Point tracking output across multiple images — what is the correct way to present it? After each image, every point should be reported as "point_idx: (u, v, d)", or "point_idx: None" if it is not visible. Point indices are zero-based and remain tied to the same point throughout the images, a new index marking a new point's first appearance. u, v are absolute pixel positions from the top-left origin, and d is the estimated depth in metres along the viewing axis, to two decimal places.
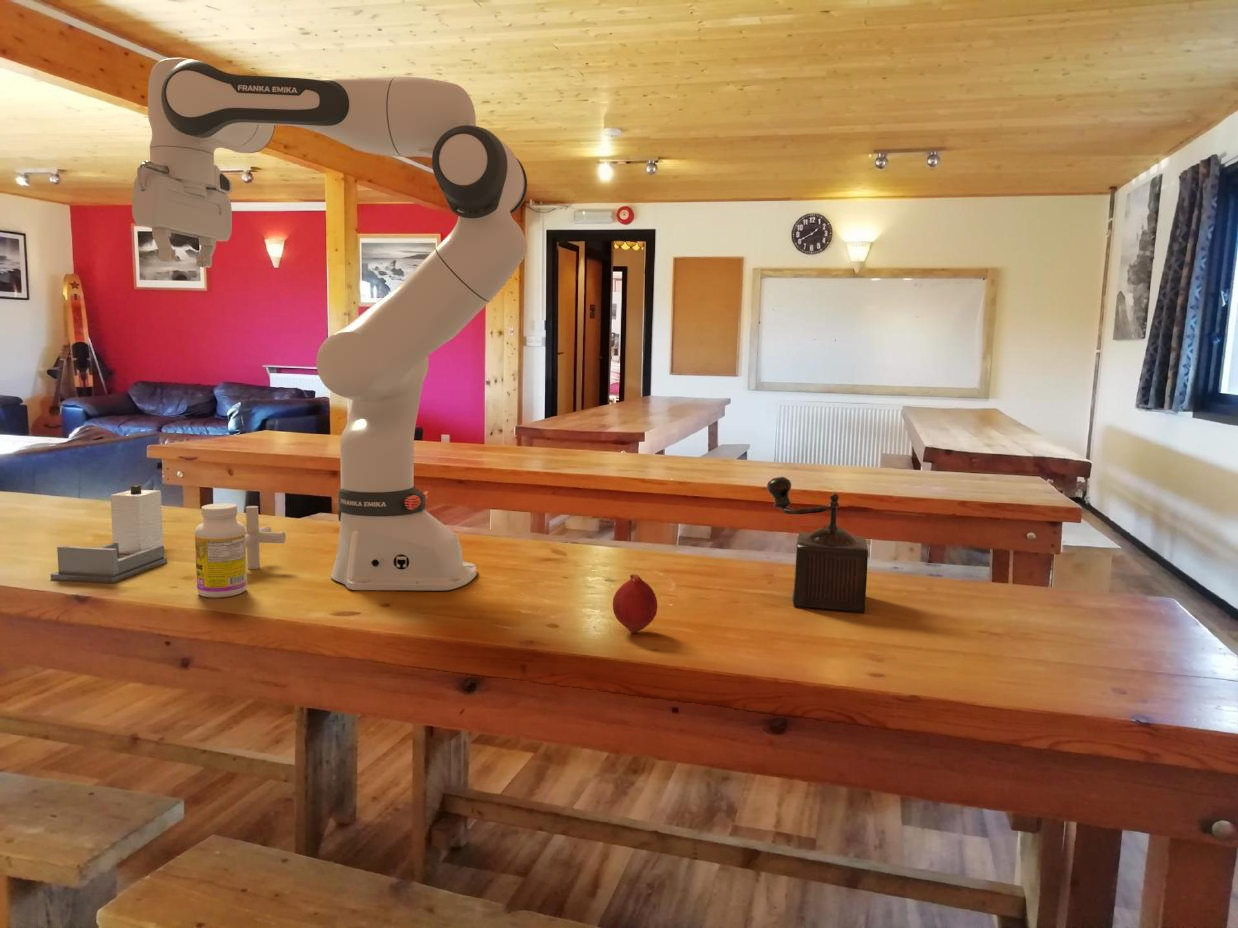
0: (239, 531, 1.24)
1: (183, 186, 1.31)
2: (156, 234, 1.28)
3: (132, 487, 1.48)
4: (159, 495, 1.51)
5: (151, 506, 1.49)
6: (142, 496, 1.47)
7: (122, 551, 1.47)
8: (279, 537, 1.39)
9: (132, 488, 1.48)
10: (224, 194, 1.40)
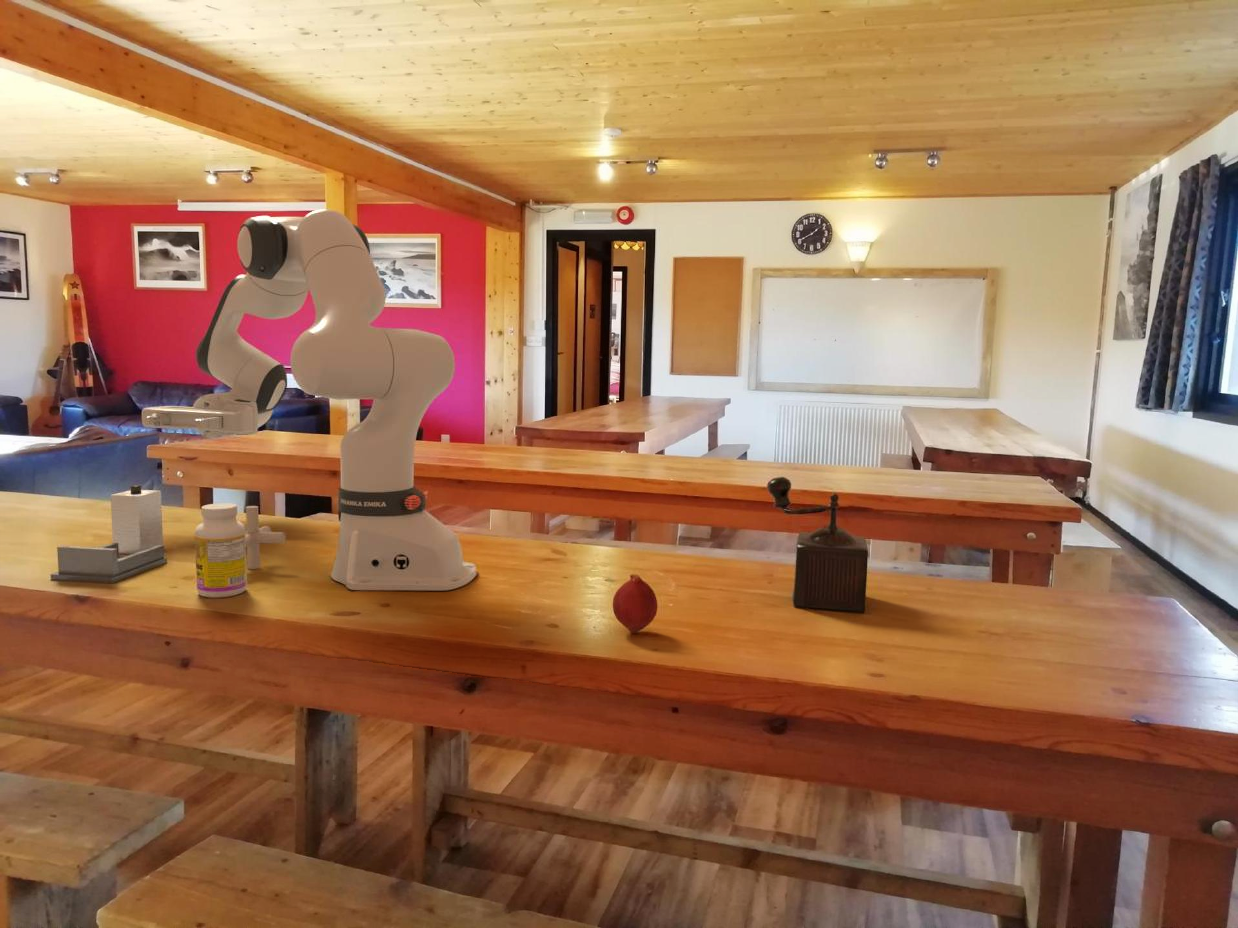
0: (239, 531, 1.24)
1: (195, 407, 1.70)
2: None
3: (132, 487, 1.48)
4: (159, 495, 1.51)
5: (151, 506, 1.49)
6: (142, 496, 1.47)
7: (122, 551, 1.47)
8: (279, 537, 1.39)
9: (132, 488, 1.48)
10: (243, 405, 1.69)
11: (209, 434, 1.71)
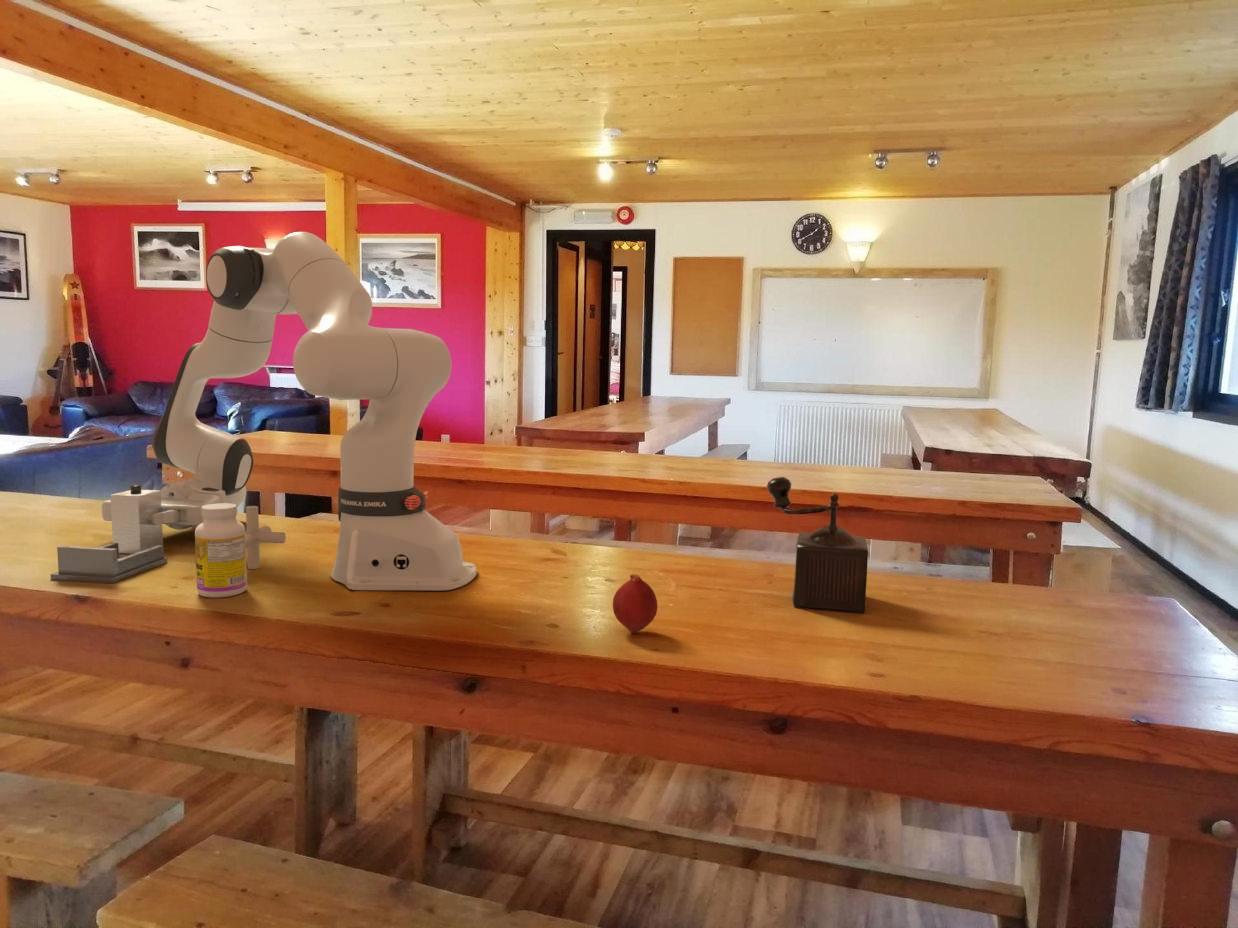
0: (239, 531, 1.24)
1: None
2: None
3: (132, 487, 1.48)
4: (159, 495, 1.51)
5: (151, 506, 1.49)
6: (142, 496, 1.47)
7: (122, 551, 1.47)
8: (279, 537, 1.39)
9: (132, 488, 1.48)
10: (210, 494, 1.59)
11: (175, 525, 1.61)
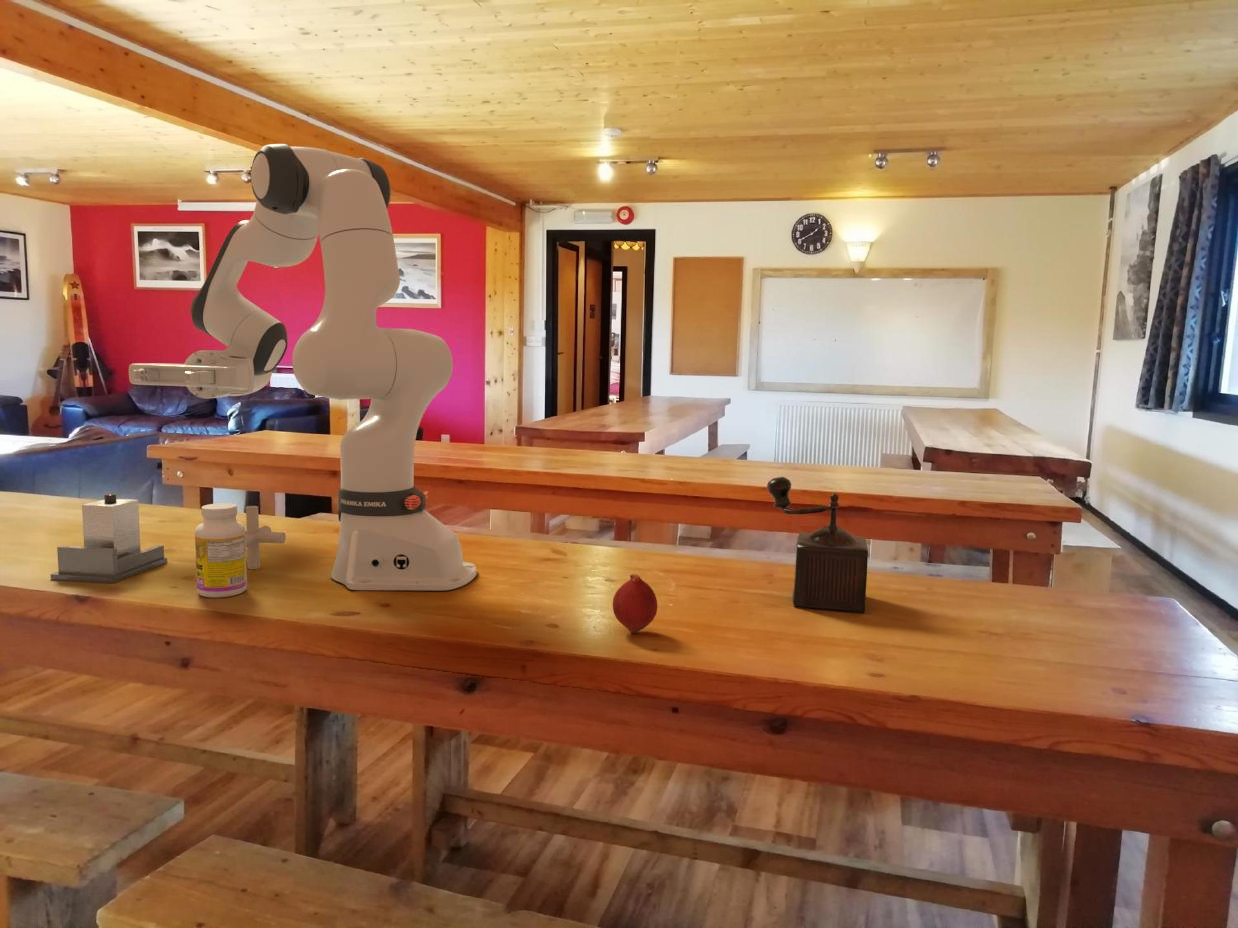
0: (239, 531, 1.24)
1: None
2: None
3: (106, 496, 1.34)
4: (136, 505, 1.38)
5: (127, 517, 1.36)
6: (117, 506, 1.33)
7: None
8: (279, 537, 1.39)
9: (106, 497, 1.34)
10: (238, 361, 1.57)
11: (202, 394, 1.59)
